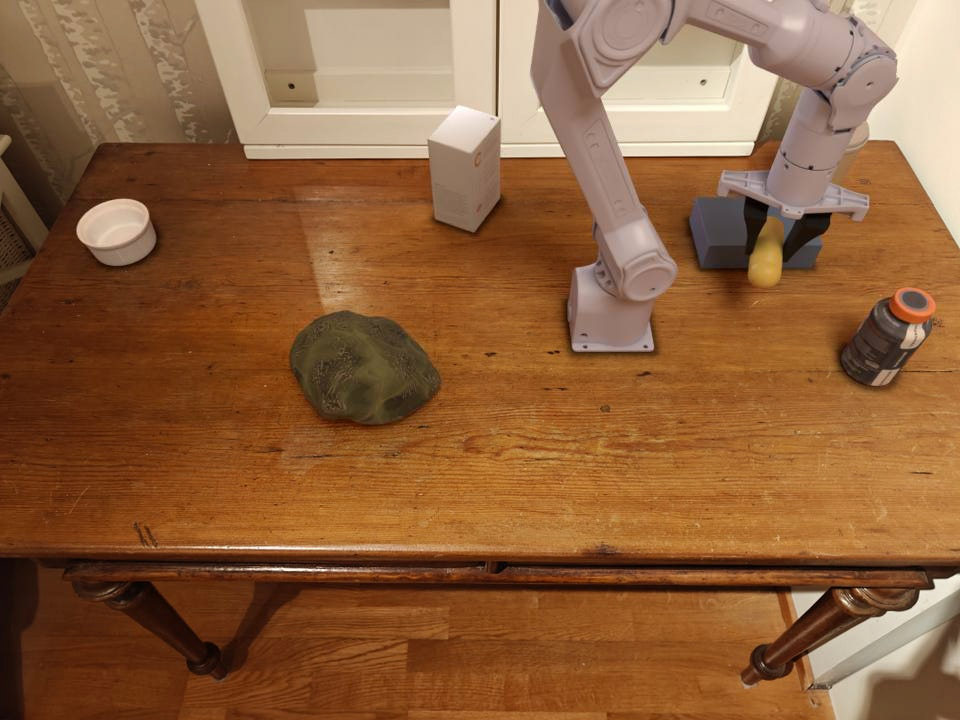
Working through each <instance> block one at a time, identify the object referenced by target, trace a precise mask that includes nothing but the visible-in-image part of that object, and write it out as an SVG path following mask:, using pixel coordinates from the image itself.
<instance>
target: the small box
mask: <svg viewBox="0 0 960 720" xmlns="http://www.w3.org/2000/svg"><path fill="white" fill-rule="evenodd" d="M501 129H502V117H499V116H496V115H493V114H491V113H486V112H483V111H480V110H476V109H473V108H470V107H467V106H462V105H456V106H455V108H454V109H453V110H452V111H451V112H450V113H449V114H448V116H447V117H446V118H445V119H444V120H443V121H442V122H441V123H440V124H439V125H438V126H437V127H436V129H435V130H434V131H433V132H432V133H431V134H430V135H429V136H428V138H427V139H426V142H427V151H428V161H429V162H428V163H429V173H430V185H431V194H432V205H433V218H434V219H435V220H436V221H439V222H442V223H445V224H447V225H450V226H452V227H456V228H458V229H461V230H464V231H466V232H467V231H468V232H471V233H475V232H476V231H477V230H478V229H479V227H480V226H481V224H482V223H483V222H484V220H485V219H486V217H488V215H489V214H490V212H491V211H492V210H493V208H494V207H495V206H496V204H497V203H498V202H499V200H500V199H501V149H502V148H501V147H502V145H501V144H502V143H501V140H502V137H501V136H502V130H501Z"/></svg>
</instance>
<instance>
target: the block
mask: <svg viewBox="0 0 960 720" xmlns="http://www.w3.org/2000/svg"><path fill="white" fill-rule="evenodd" d="M744 202H745V197H744V196H727V197H722V196H714V197H713V196H707V197H706V196H704V197H703V196H702V197H701V196H700V197H699V196H696V197H695V199H694V203H693V206H692V209H691V212H690V215H689V219H688V222H689V226H690V229H691V234H692V237H693V241H694V245H695V249H696V253H697V257H698V261H699V264H700V265H699V266H700V268H701V269H749V260H750V256H749V255H745V254H744V253H745V245H746V240H747V228H746V223H745V220H744V213H743V210H744ZM768 216H771V217H776V218H778V219H779V220H780V221H781V222H782V224H783V226H784V242H785V240H786V238H787V236H788V235H789V233H790V231H791V229H792V227H793V225H794V223H795V221H796V219H792V218H787V217H783V216H782V215H781V214H780V210H779V209H777V208H775V207H772V206H770V205H769V209H768V212H767V217H768ZM783 245H784V243H783ZM823 247H824V244H823V241H822V239H821V235H820V236H818V237H816V238H814V239H812V240H811V241H809V242H808V243H807V244H805V245H804V246H803V247H802V248H800V249H799V250H798V251H797V252H796V253H795V254H794V255H793V256H792V257H791V258H790V260H789V261H788V262H787V263H785V262H782V269H811V268H812V267H813V265H814V264H815V261H816V260H817V258H818V255H819V254H820V252H821V250H822V249H823Z"/></svg>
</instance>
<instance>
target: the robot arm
mask: <svg viewBox="0 0 960 720" xmlns="http://www.w3.org/2000/svg"><path fill="white" fill-rule="evenodd" d="M537 3H538V10H537V11H538V12H537V18H536V25H535V33H534V41H533V47H532V53H531V54H532V55H531V62H530V69H529V78H530V79H529V80H530V83H531V86H532V88H533V91H534V93H535V95H536V97H537V99H538V101H539V103H540V106H541V108H542V110H543V112H544V114H545V116H546V118H547V121H548V123H549V125H550V127H551V129H552V131H553V133H554V136H555V138H556V140H557V142H558V144H559V147H560V148H561V150H562V153H563V155H564V157H565V159H566V161H567V164H568V165H569V167H570V170H571V172H572V174H573V176H574V179H575V180H576V183H577V185H578V186H579V189H580V191H581V193H582V196H583V197H584V199H585V202H586V204H587V206H588V209H589V211H590V213H591V215H592V225H591V236H592V238H593V241H594V243H596V244H597V246H598V251H597V256H598V257H597V259H596V262H593V263H591V264H587V265H584V266H579V267H574V268H573V270H572V275H571V282H570V290H569V297H568V299H567V322H568V323H569V332H570V334H569V335H570V342H571V350H572V351H573V353H574V352H575V353H647V352H648V353H649V352H653V351H654V350H655V343H654V339H653V333H652V327H651V322H650V320H651V316H652V314H653V312H652V311H653V309H654V306H655V302H656V299H657V297H659V296H661V295H663V294H664V293H665V292H666V291H667V290H668V289H669V288H670V287H671V286H672V285H673V284H674V283H675V281H676V279H677V278H678V274H679V269H678V265H677V263H676V261H675V260H674V259H673V258H672V257H671V256H670V253H669V252H668V250H667V249H666V247H665V245H664V243H663V241H662V239H661V237H660V236H659V234H658V232H657V230H656V228H655V227H654V224H653V223H652V221H651V220H650V217H649V213H648V211H647V209H646V207H645V206H644V205H643V204H642V203H641V202H640V199H639V196H638V194H637V191H636V188H635V185H634V183H633V180H632V178H631V175H630V171H629V169H628V167H627V164H626V162H625V159H624V157H623V153H622V151H621V148H620V146H619V143H618V141H617V140H618V139H617V138H616V135H615V132H614V129H613V128H612V124H611V122H610V119H609V117H608V114H607V111H606V108H605V106H604V103H603V101H602V98H601V97H602V96H603V95H604V94H606V93H607V92H608V91H609V90H610V89H611V88H612V87H614V85H615V84H616V83H617V82H618V81H619V80H620V79H622V77H624V75H625V74H626V73H628V71H630V70H631V69H632V68H633V67H634V66H635V64H637V63H638V62H639V61H640V60H641V59H642V58H643V57H644V56H645V55H646V54H647V53H648V52H649V51H650V50H651V49H652V48H653V47H654V46H655V44H657V42H658V41H659V43H660V44H661V46H667V45H668V44H670V43H671V42H672V41H673V40H674V39H675V38H676V36H677V35H678V33H679V32H680V31H681V30H682V28H683V27H684V26H686V25H690V26H692V27H695V28H698V29H701V30H703V31H707V32H709V33H711V34H712V33H713V34H715V35H718V36H721V37H724V38H727V39H729V40H731V41H736V42H738V43H741V44H744V45H746V46H747V47H746V48H747V53H748V56H749V60H750V61H751V63H752V65H754V66H755V67H757V68H759V69H762V70H764V71H766V72H768V73H770V74H773V75H776V76H778V77H781V78H783V79H785V80H788V81H789V82H793V83H795V84H797V85H800V86H801V87H802V90H801V92H800V95H799V96H798V100H797V102H796V106H795V108H794V110H793V112H792V115H791V118H790V120H789V123H788V125H787V128H786V130H785V132H784V136H783V138H782V140H781V143H780V145H779V147H778V150H777V153H776V155H775V158H774V160H773V163H772V165H771V168H770V169H765V170H743V171H742V170H741V171H740V170H739V171H738V170H727V169H723V170H722V172H721V175H720V178H719V181H718V184H717V191H716V197H729V196H728V195H734V196H738V197H745V202H744V210H743V213H744V220H745V223H746V228H747V240H746V245H745V253H744V254H745V255H749V256H750V255H751V254H752V253H753V250H754V247H755V244H756V241H757V238H758V236H759V234H760V232H761V230H762V228H763V226H764V225H765V223H766V222H767V212H768V209H769V205H770V206H772V207H775V208H777V209H779V210H780V214H781V215H782V216H783V217H787V218H792V219H796V221H795V223H794V225H793V227H792V229H791V231H790V233H789V235H788V236H787V238H786V240H785V242H784V245H783V258H782V262H785V263H787V262H788V261H789V260H790V258H791V257H792V256H793V255H794V254H795V253H796V252H797V251H798V250H799V249H800V248H802V247H803V246H804V245H805V244H807V243H808V242H809V241H811V240H812V239H814V238H816V237H818V236H820V237H821V236H822V235H825V233H827V231H828V230H829V228H830V226H831V217H832V215H833V214H837V215H838V214H839V215H844V216H849V218H850V220H851V221H854V222H859V223H862V222H863V220H864V218H865V217H866V215H867V213H868V211H869V209H870V195H868V194H864V193H859V192H856V191H853V190H850V189H848V188H845V187H843V186H841V185H840V186H838V185H835V184H832V183H830V181H831V179H832V177H833V175H834V173H835V171H836V169H837V167H838V165H839V163H840V161H841V159H842V157H843V155H844V153H845V151H846V149H847V147H848V145H849V143H850V141H851V139H852V137H853V135H854V133H855V130H856V128H857V127H859V126H860V125H861V124H862V123H863V122H864V121H867V120H868V119H869V116H870V114H871V112H872V110H873V109H874V108H875V107H876V106H877V105H878V104H879V103H880V102H881V101H882V100H884V99H885V98H886V97H887V96H888V95H889V94H890V93H891V92H892V91H893V89H894V88H895V87H896V85H897V83H898V82H899V80H900V77H899V76H898V75H897V73H898V62H899V61H898V59H897V57H898V56H897V53H896V52H895V51H894V50H893V48H891V46H889V44H888V43H886V42H885V41H884V40H883V39H881V37H880V36H879V35H878V34H876V33H875V32H874V31H873V29H871V28H869V27H868V26H867V24H866V23H865V22H864V21H863V20H862V19H861V18H860V17H858V16H856V14H855V13H852V12H846V13H842V14H837V13H835V12H833V11H831V10H829V9H830V7H831V3H830V2H829V1H827V0H771V1H770V0H537Z"/></svg>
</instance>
